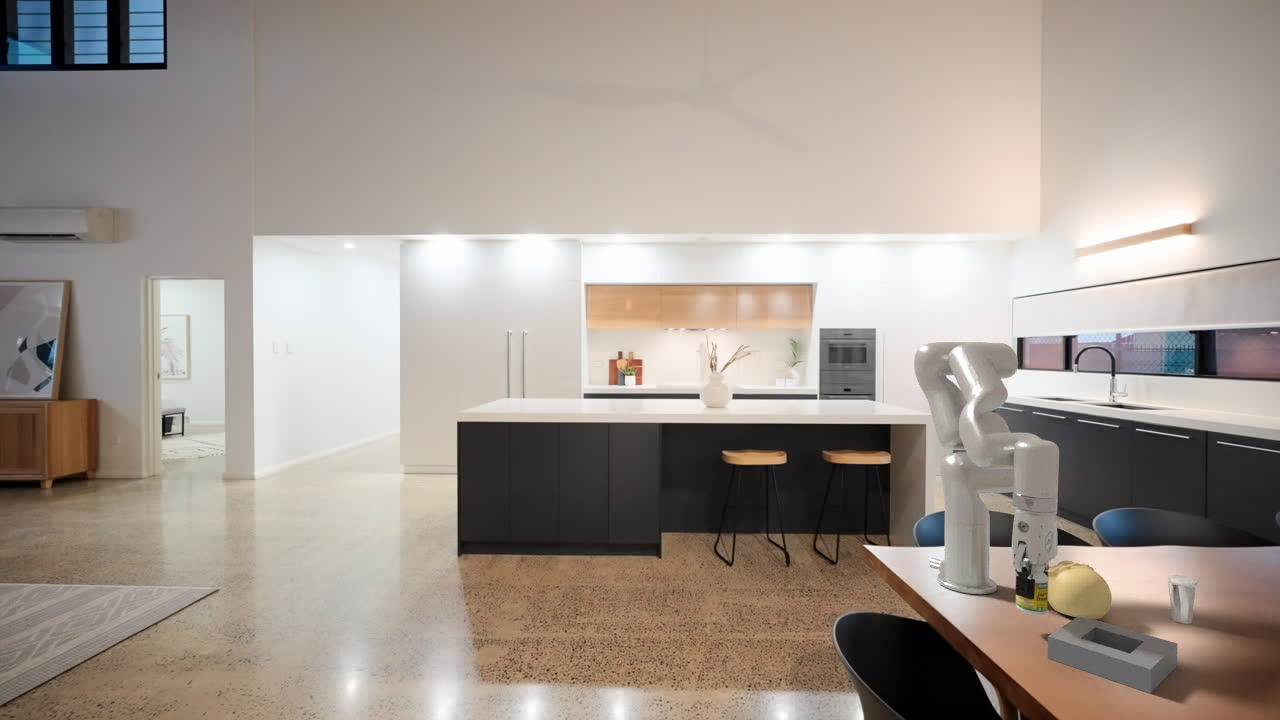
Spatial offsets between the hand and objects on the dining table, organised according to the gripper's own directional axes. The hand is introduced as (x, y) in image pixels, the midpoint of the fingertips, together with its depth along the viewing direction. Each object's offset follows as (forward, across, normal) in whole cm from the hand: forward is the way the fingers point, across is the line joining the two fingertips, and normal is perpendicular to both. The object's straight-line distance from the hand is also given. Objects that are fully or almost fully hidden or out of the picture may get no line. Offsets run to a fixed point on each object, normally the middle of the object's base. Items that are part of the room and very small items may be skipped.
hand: (1031, 592), depth 126 cm
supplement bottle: (+4, 0, 0) cm, 4 cm away
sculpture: (+9, +17, -2) cm, 19 cm away
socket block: (+8, -2, -14) cm, 16 cm away
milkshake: (+8, +30, -17) cm, 36 cm away
